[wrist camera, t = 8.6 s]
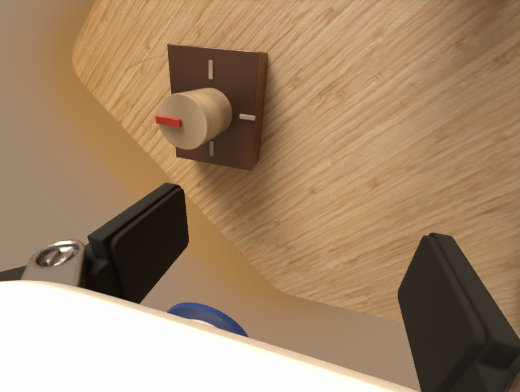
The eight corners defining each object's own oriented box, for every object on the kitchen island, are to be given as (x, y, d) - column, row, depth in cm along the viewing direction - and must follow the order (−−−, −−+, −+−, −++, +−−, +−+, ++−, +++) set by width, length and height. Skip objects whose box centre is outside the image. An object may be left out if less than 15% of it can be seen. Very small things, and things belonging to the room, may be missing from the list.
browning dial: (233, 91, 21) (205, 98, 17) (231, 137, 23) (205, 155, 19) (190, 84, 22) (152, 90, 17) (191, 130, 24) (157, 145, 19)
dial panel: (260, 161, 27) (251, 171, 24) (190, 148, 28) (174, 157, 26) (269, 53, 22) (259, 51, 19) (184, 45, 24) (164, 43, 21)
